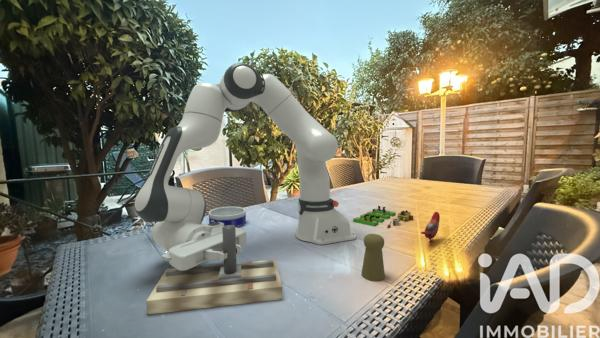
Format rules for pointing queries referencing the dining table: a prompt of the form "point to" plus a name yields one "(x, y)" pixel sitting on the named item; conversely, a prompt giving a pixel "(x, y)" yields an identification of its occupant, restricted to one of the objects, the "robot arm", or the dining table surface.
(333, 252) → the dining table surface
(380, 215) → the toy garden set
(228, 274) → the fader knob
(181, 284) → the fader board
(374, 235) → the olive green pawn
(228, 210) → the dog bowl
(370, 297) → the dining table surface
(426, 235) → the decorative bird figurine
